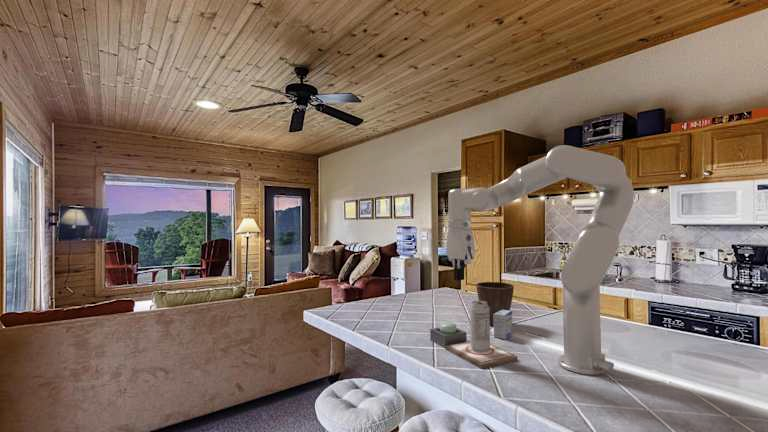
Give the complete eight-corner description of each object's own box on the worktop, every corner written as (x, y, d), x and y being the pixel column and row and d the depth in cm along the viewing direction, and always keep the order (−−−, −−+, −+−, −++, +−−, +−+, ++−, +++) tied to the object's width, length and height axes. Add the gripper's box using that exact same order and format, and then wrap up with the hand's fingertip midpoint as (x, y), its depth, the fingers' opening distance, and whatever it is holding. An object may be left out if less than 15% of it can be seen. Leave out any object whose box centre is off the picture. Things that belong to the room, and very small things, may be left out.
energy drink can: (486, 346, 120) (485, 300, 120) (492, 352, 114) (491, 304, 114) (468, 346, 119) (467, 300, 120) (473, 353, 113) (472, 304, 114)
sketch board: (517, 360, 111) (517, 355, 111) (481, 368, 106) (481, 363, 106) (478, 342, 128) (478, 338, 128) (445, 349, 122) (445, 344, 122)
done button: (459, 334, 128) (459, 325, 128) (445, 336, 125) (445, 328, 125) (450, 330, 133) (449, 321, 133) (436, 332, 130) (436, 323, 130)
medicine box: (505, 339, 131) (505, 315, 131) (493, 337, 133) (493, 313, 133) (512, 333, 137) (512, 310, 137) (501, 331, 140) (500, 309, 140)
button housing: (466, 343, 127) (466, 332, 127) (444, 347, 123) (444, 336, 123) (451, 336, 135) (451, 325, 135) (430, 340, 131) (430, 328, 131)
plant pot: (486, 317, 161) (485, 280, 161) (520, 322, 151) (519, 283, 151) (470, 324, 149) (469, 285, 149) (506, 331, 140) (505, 289, 140)
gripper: (483, 226, 119) (482, 282, 119) (455, 224, 132) (454, 275, 132) (464, 226, 115) (464, 284, 115) (437, 225, 129) (437, 277, 129)
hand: (459, 279), depth 124 cm, fingers closed
